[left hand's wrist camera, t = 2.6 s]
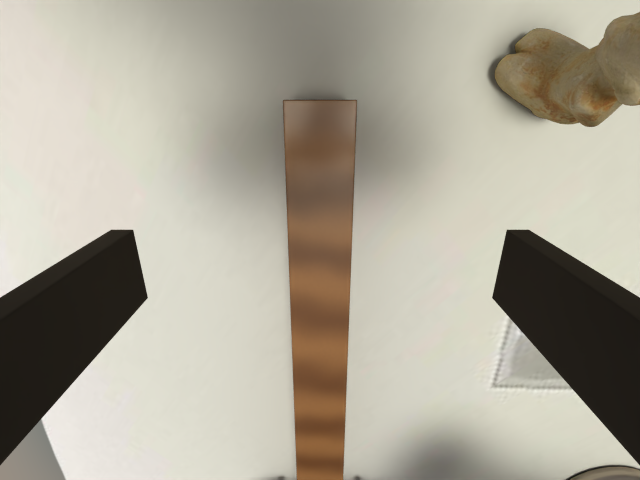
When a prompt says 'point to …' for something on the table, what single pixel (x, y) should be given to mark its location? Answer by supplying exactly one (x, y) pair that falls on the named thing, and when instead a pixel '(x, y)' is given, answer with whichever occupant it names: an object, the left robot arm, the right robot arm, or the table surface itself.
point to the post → (319, 275)
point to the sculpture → (575, 73)
